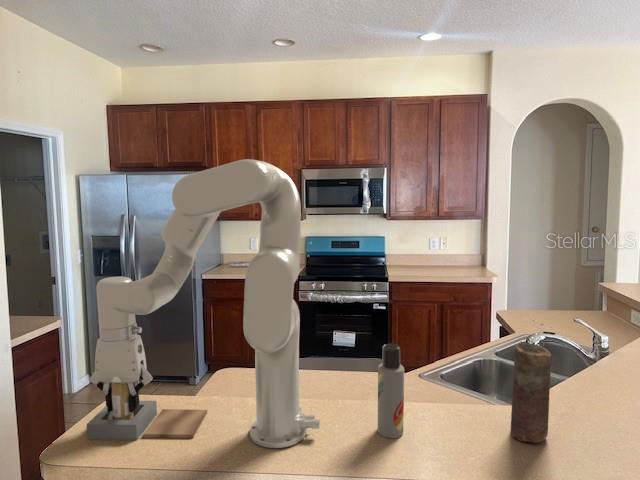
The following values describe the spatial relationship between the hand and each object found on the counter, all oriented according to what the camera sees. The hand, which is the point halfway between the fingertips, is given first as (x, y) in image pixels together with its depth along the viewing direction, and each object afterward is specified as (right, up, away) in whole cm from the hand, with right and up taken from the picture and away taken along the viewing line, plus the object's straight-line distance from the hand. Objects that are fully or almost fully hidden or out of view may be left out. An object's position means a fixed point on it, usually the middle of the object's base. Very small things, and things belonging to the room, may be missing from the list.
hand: (123, 408), depth 103 cm
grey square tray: (0, -4, 0) cm, 4 cm away
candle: (+91, -4, -5) cm, 91 cm away
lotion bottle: (+61, -4, -3) cm, 61 cm away
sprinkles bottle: (0, -5, +1) cm, 5 cm away
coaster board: (+12, -4, +1) cm, 13 cm away
